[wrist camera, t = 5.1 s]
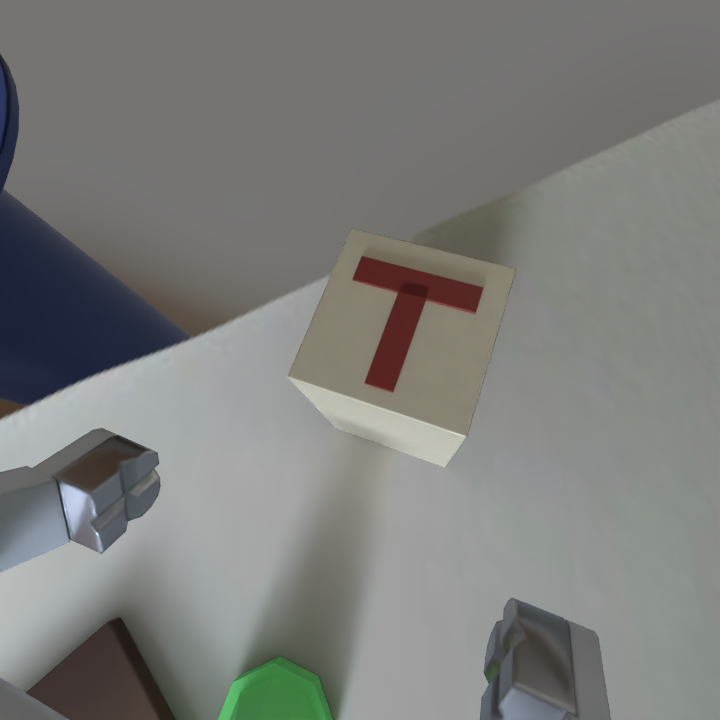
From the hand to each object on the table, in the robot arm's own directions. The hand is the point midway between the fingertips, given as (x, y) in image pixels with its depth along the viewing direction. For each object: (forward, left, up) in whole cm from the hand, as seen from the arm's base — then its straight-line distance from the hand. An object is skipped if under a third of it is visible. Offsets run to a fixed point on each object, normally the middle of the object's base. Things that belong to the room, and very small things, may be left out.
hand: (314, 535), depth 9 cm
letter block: (-3, +5, -9) cm, 11 cm away
